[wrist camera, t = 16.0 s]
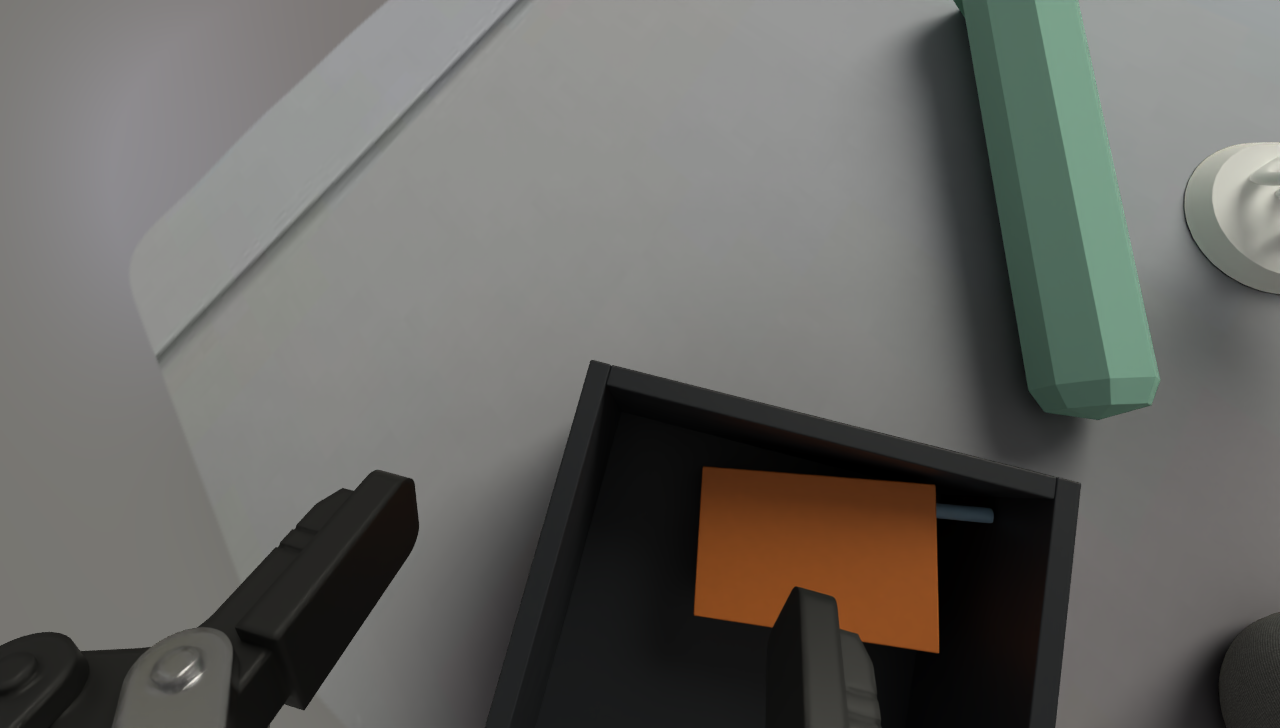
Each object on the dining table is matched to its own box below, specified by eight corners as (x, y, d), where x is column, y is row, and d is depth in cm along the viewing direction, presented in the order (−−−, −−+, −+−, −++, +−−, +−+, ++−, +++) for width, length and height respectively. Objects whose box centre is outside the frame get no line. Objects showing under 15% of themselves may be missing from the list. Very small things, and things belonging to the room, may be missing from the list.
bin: (511, 756, 26) (436, 893, 17) (611, 395, 29) (590, 359, 21) (891, 879, 24) (1016, 1097, 16) (951, 482, 28) (1081, 483, 19)
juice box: (692, 615, 23) (1016, 666, 19) (702, 465, 24) (1008, 489, 21) (708, 598, 26) (981, 638, 23) (715, 469, 27) (976, 490, 24)
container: (1215, 409, 22) (1094, -110, 27) (1036, 420, 24) (954, -58, 29) (1153, 419, 27) (1062, -15, 32) (1011, 427, 30) (945, 22, 34)
